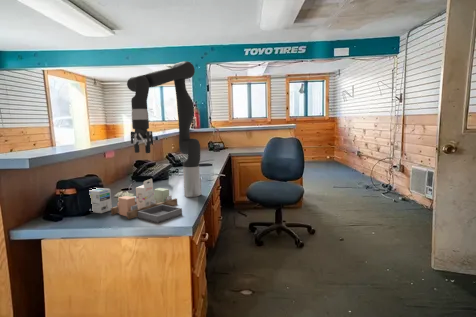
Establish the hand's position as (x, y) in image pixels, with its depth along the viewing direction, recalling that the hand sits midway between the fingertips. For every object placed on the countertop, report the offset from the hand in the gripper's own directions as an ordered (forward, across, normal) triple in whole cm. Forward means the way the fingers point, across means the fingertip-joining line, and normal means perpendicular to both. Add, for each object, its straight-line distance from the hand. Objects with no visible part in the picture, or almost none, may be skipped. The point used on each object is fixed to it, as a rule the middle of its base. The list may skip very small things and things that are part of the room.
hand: (142, 152), depth 137 cm
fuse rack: (+28, 0, 0) cm, 28 cm away
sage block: (+28, 0, -10) cm, 30 cm away
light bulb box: (+28, +18, +14) cm, 36 cm away
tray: (+28, -16, +4) cm, 32 cm away
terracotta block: (+28, 0, +10) cm, 30 cm away
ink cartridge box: (+28, 0, 0) cm, 28 cm away
